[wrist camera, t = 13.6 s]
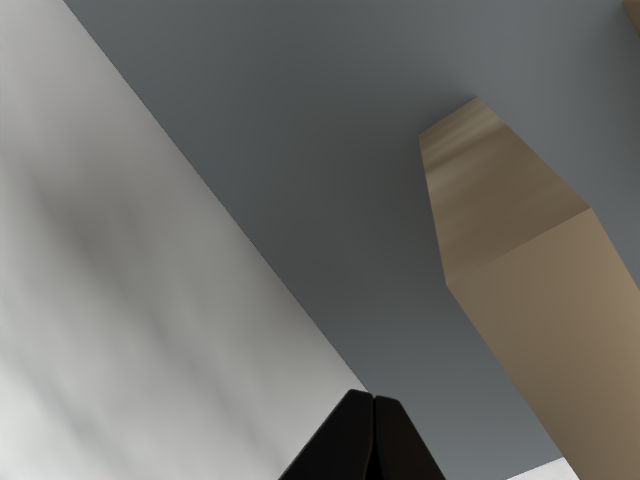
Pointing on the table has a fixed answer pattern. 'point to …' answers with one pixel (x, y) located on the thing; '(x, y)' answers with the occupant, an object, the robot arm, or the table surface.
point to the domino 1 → (539, 287)
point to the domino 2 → (633, 13)
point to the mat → (388, 166)
